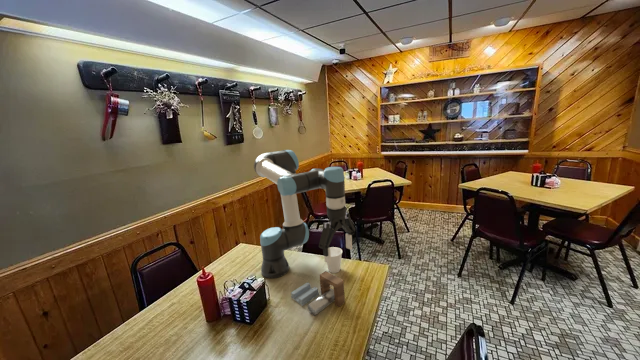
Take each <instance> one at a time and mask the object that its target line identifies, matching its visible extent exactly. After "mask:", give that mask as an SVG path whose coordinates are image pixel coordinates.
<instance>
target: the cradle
mask: <svg viewBox="0 0 640 360" xmlns="http://www.w3.org/2000/svg"><path fill="white" fill-rule="evenodd" d="M319 296H320V292H319V288H318V287H316V286H314V287H311V283H309V282H306V283H304V284H303V285H301V286H299V287H297V288H296V289H295V290H293V291H291V292H290V298H291V299H292V300H293V301H294V302H296V303H298V304H299V305H300V306H302V307H303V306H304V305H306V304H309V302H310V301H312V300H314V299H316V298H317V297H319Z"/></svg>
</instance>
